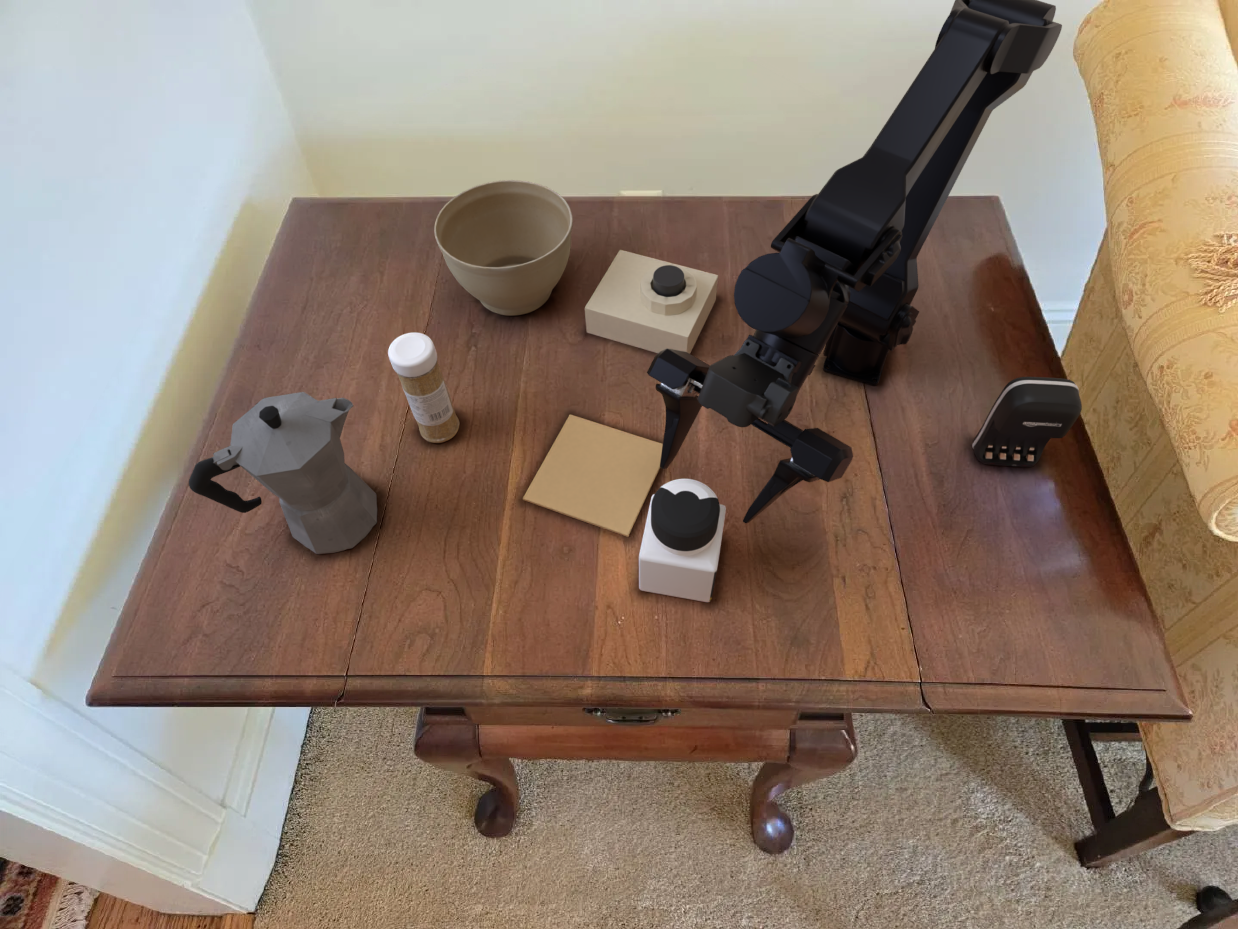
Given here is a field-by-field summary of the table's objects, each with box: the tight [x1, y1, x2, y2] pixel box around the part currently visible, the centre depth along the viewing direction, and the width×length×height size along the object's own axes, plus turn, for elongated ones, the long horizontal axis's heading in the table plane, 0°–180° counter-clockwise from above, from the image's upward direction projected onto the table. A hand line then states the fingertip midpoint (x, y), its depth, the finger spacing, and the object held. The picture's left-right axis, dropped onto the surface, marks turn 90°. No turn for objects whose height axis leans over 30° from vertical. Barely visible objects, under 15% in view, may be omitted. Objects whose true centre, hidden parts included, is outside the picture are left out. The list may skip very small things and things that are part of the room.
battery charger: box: [971, 376, 1083, 468], centre depth 79 cm, size 7×4×11 cm, turn 84°
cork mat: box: [522, 414, 663, 538], centre depth 83 cm, size 12×12×1 cm
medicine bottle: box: [638, 478, 727, 603], centre depth 72 cm, size 7×7×12 cm
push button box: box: [584, 249, 719, 354], centre depth 94 cm, size 13×11×6 cm
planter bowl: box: [433, 179, 574, 317], centre depth 95 cm, size 16×16×11 cm
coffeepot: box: [188, 391, 378, 555], centre depth 74 cm, size 15×9×18 cm, turn 123°
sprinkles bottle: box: [387, 331, 460, 444], centre depth 82 cm, size 5×5×13 cm
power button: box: [653, 265, 684, 297], centre depth 91 cm, size 4×4×2 cm
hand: (703, 494), depth 70 cm, fingers open, 9 cm apart
